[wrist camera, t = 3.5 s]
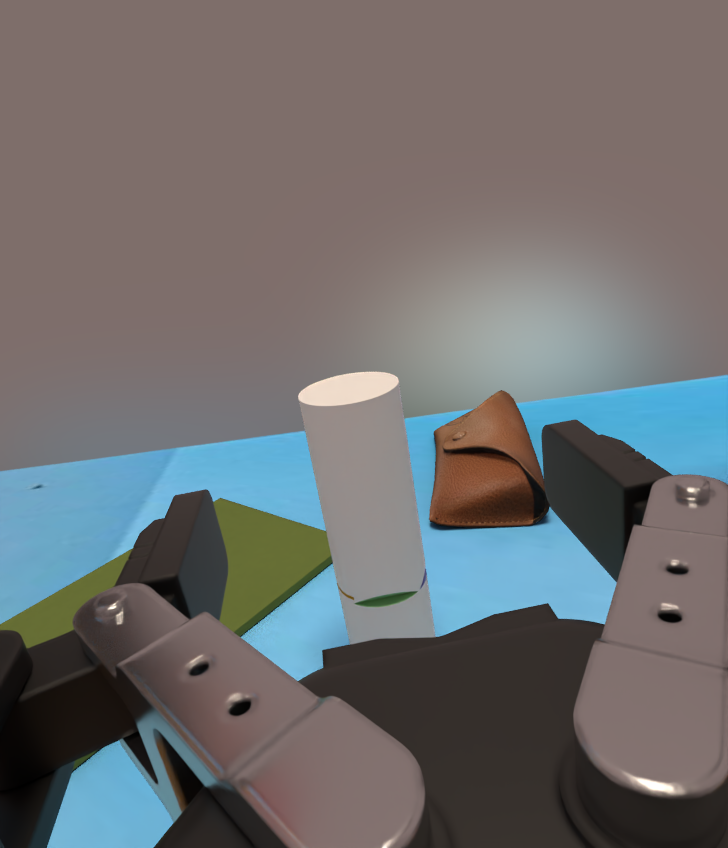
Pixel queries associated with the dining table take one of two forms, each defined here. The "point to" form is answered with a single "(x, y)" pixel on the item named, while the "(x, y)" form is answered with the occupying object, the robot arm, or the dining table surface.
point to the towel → (246, 583)
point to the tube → (369, 504)
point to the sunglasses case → (487, 469)
